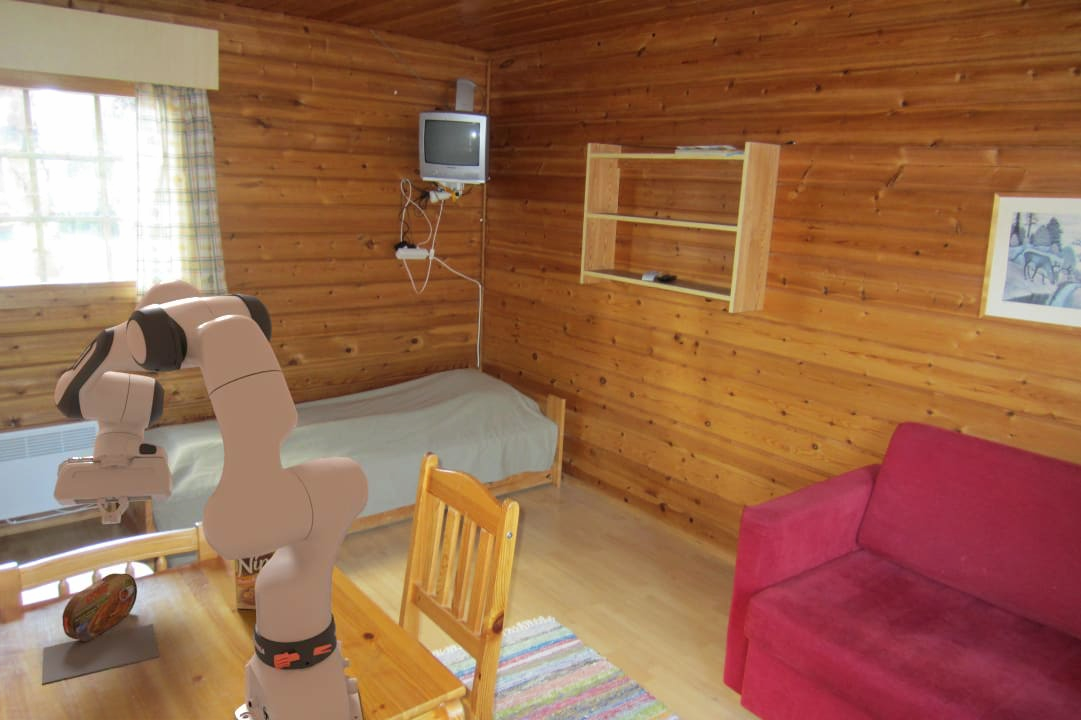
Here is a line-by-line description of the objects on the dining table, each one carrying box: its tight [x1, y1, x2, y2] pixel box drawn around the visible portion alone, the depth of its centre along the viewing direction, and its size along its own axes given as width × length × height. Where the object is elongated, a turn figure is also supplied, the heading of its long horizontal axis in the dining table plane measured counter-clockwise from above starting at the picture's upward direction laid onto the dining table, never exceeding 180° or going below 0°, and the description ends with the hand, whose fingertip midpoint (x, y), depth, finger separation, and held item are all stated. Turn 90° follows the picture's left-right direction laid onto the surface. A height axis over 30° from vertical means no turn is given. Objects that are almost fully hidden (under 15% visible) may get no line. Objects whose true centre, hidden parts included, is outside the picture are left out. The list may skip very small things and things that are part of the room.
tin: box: [61, 572, 138, 641], centre depth 145 cm, size 15×3×8 cm, turn 165°
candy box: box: [233, 550, 277, 610], centre depth 154 cm, size 9×4×15 cm, turn 87°
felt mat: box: [41, 623, 160, 685], centre depth 139 cm, size 11×17×1 cm, turn 120°
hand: (110, 522), depth 153 cm, fingers closed
